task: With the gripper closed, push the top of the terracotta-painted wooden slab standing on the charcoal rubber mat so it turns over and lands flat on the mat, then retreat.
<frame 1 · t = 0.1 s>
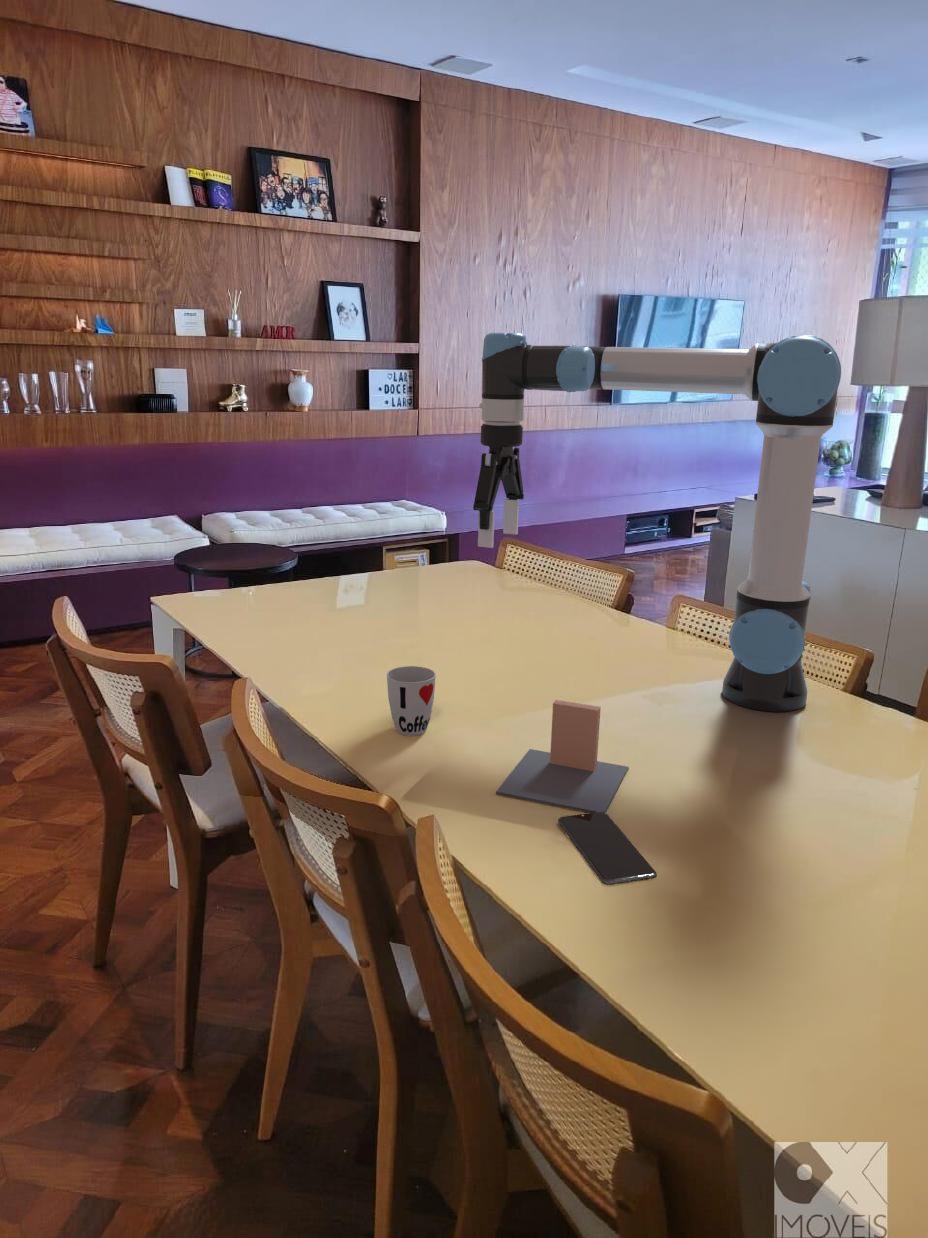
hand: (498, 540, 169), 28 cm above the table, fingers open, 13 cm apart
cup: (411, 730, 154), on the table
smartphone: (604, 852, 118), on the table
mat: (564, 781, 136), on the table
slab: (573, 765, 141), resting on mat
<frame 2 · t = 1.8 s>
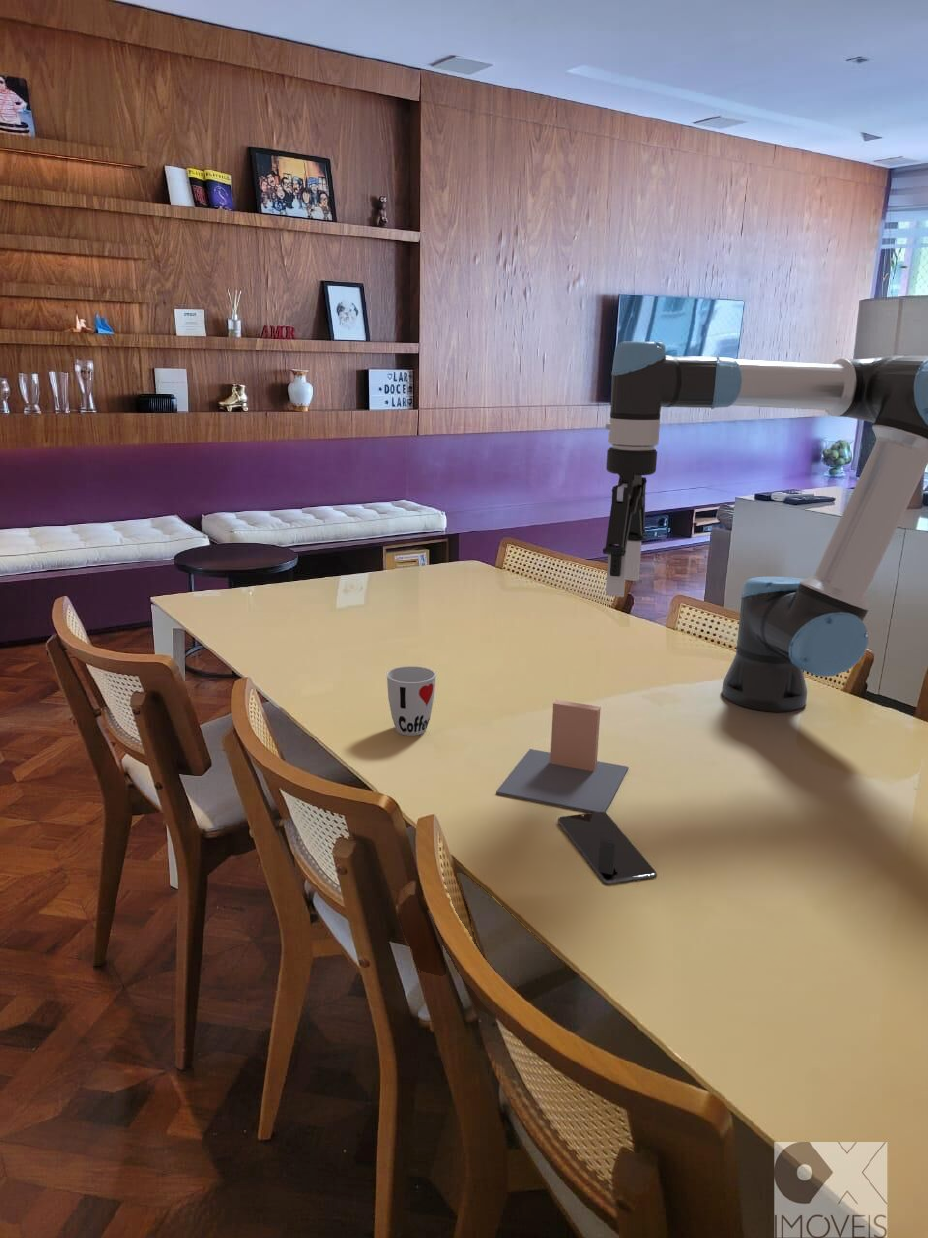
hand: (622, 587, 145), 26 cm above the table, fingers open, 10 cm apart
nothing on the table moved.
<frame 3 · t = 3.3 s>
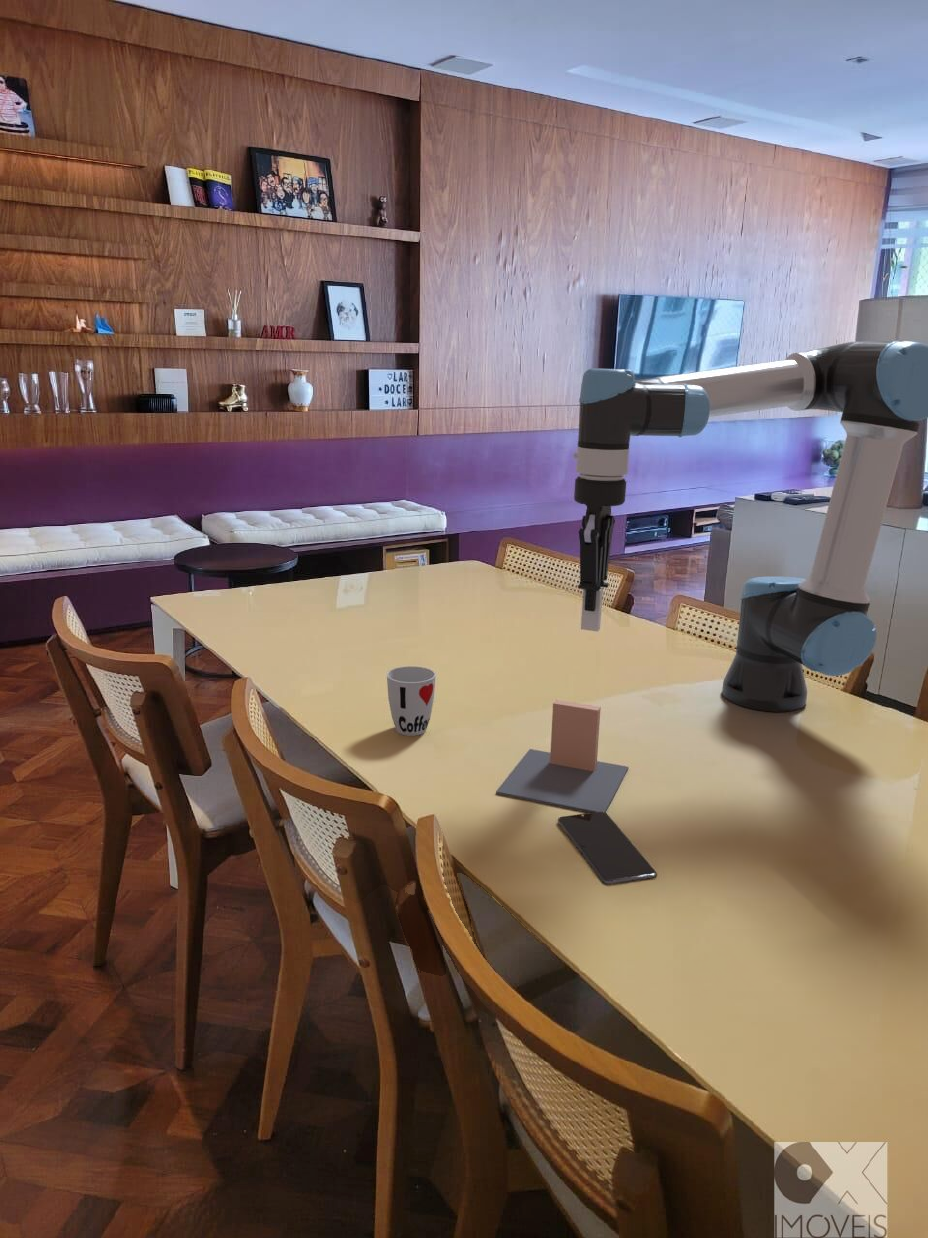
hand: (590, 629, 141), 21 cm above the table, fingers closed
nothing on the table moved.
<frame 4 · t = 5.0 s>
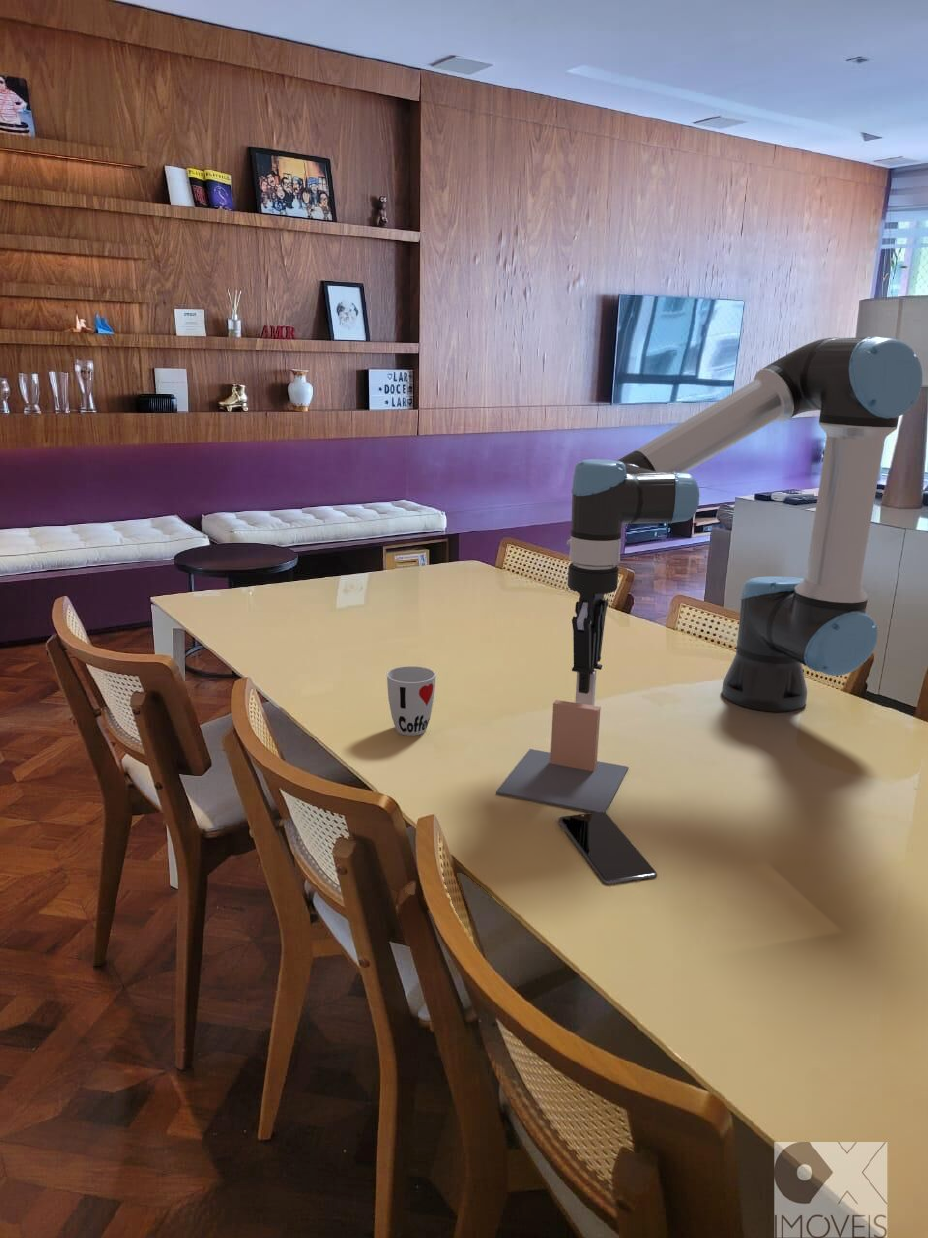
hand: (584, 709, 144), 8 cm above the table, fingers closed
nothing on the table moved.
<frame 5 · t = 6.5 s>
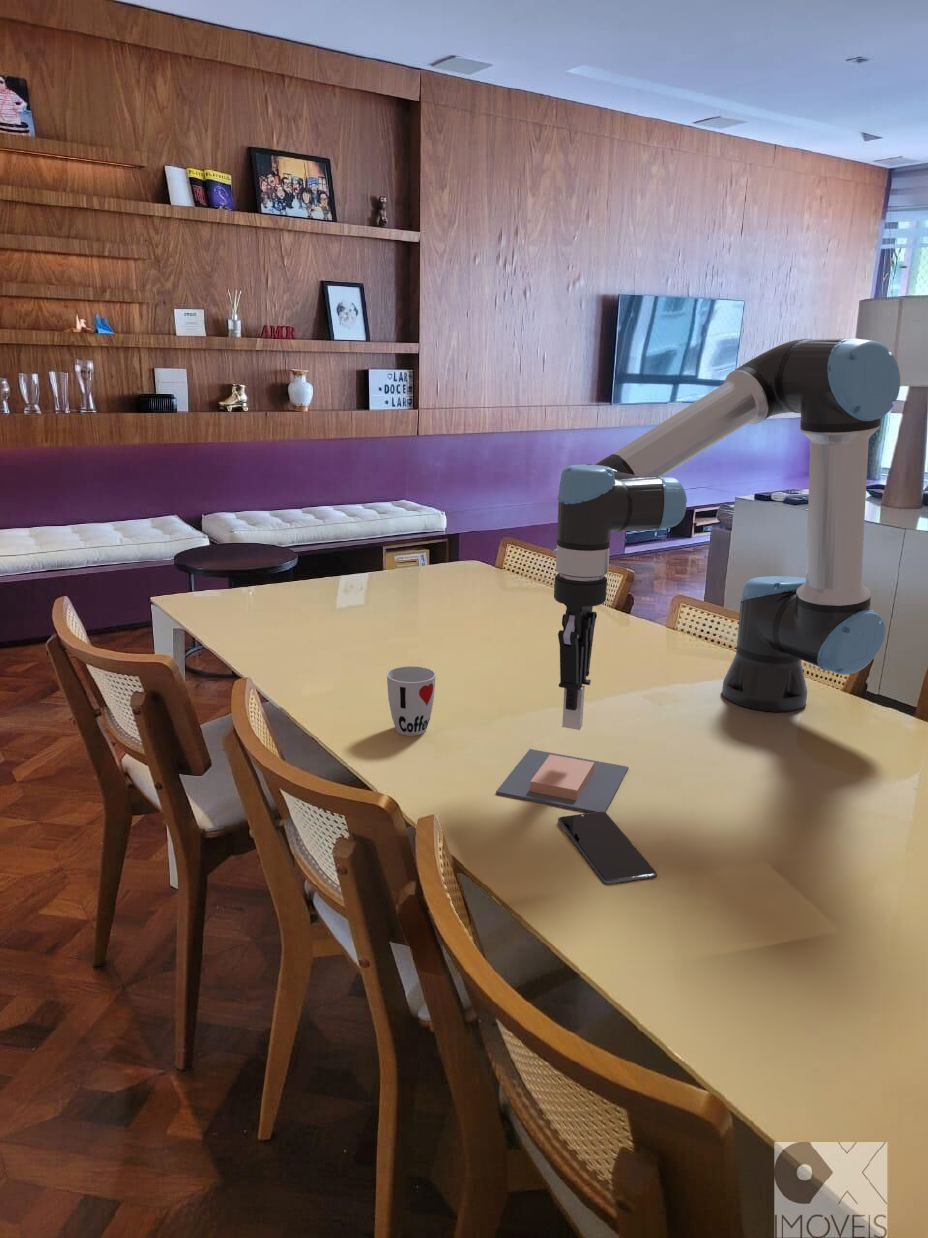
hand: (572, 726, 137), 8 cm above the table, fingers closed
slab: (571, 763, 140), point 1 cm above the table, tilted 90°, touching mat
everything else where it was.
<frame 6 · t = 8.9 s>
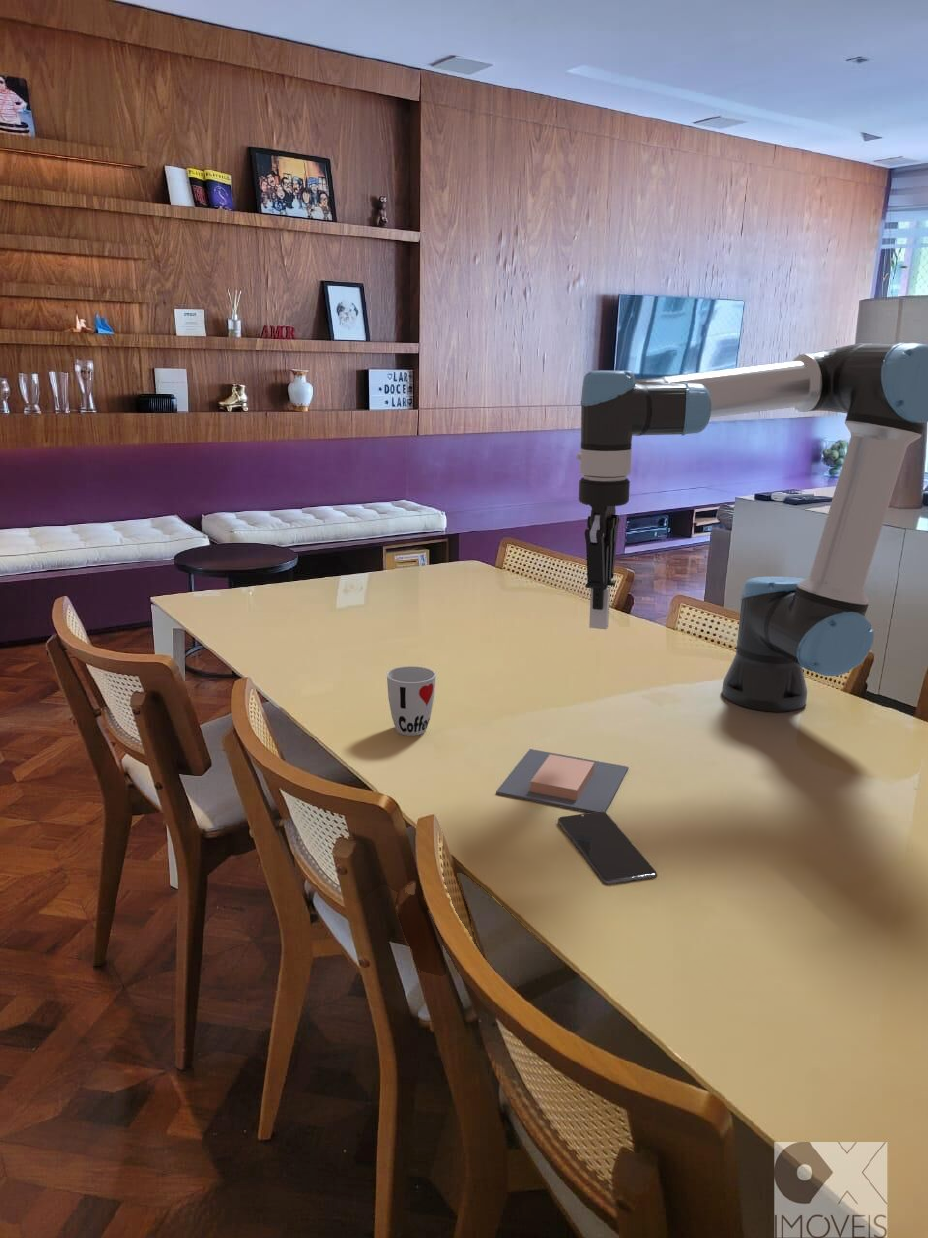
hand: (598, 627, 143), 20 cm above the table, fingers closed
nothing on the table moved.
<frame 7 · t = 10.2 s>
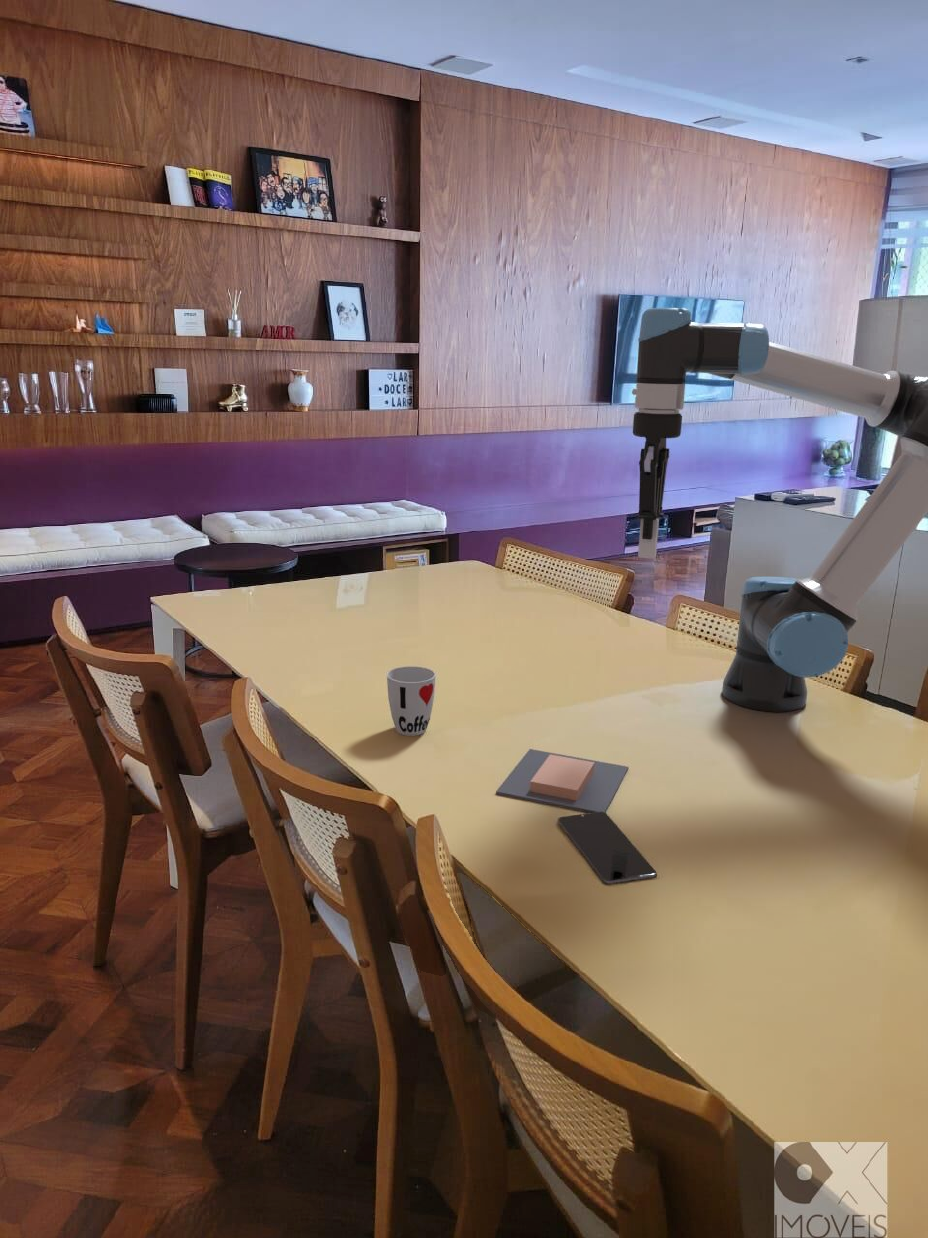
hand: (646, 557, 150), 29 cm above the table, fingers closed
nothing on the table moved.
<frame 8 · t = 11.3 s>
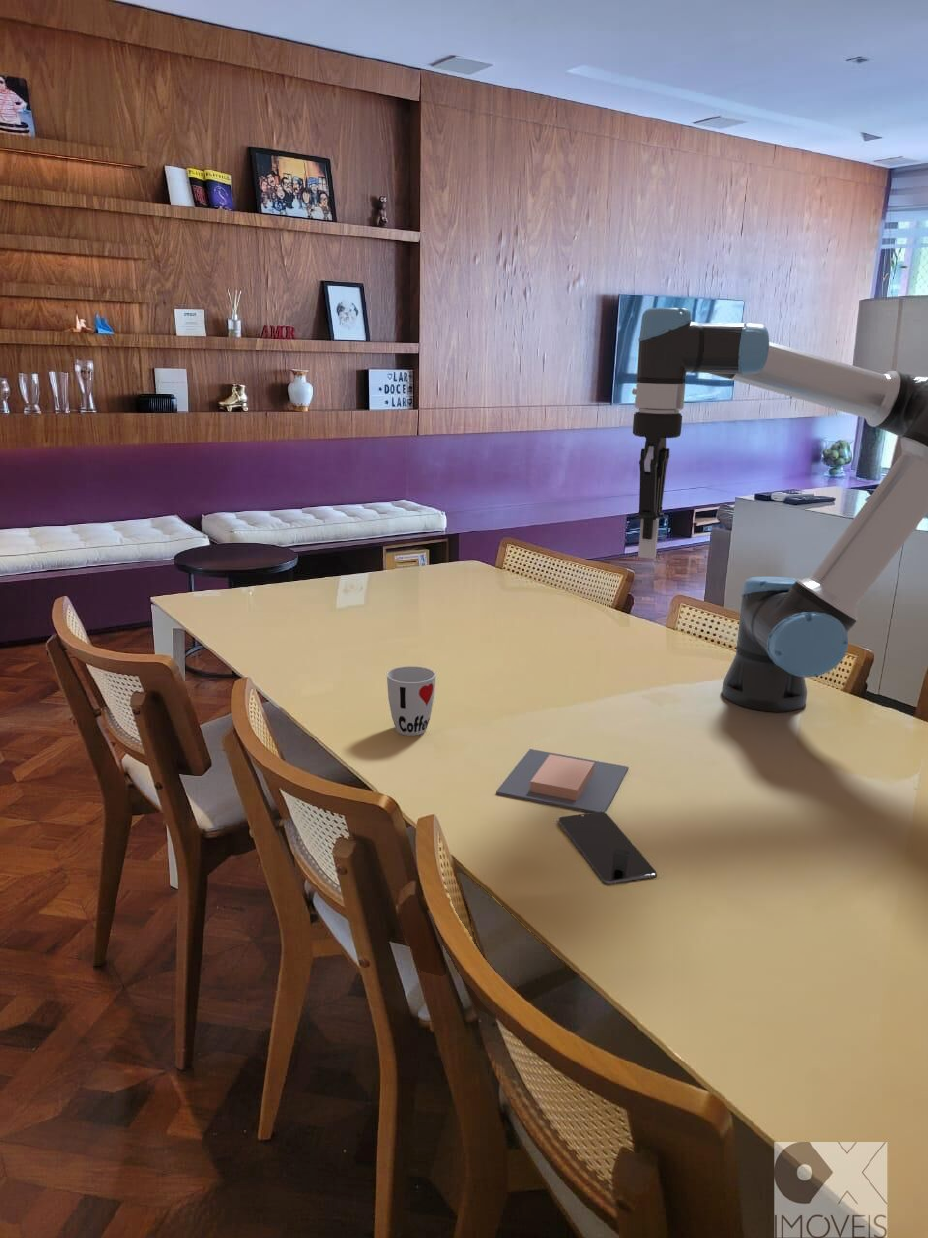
hand: (646, 557, 150), 29 cm above the table, fingers closed
nothing on the table moved.
at the end: slab tilted 90°; slab inside the target area on the mat (4.0 cm from its centre), point 1.2 cm above the mat's base; slab touching mat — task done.
